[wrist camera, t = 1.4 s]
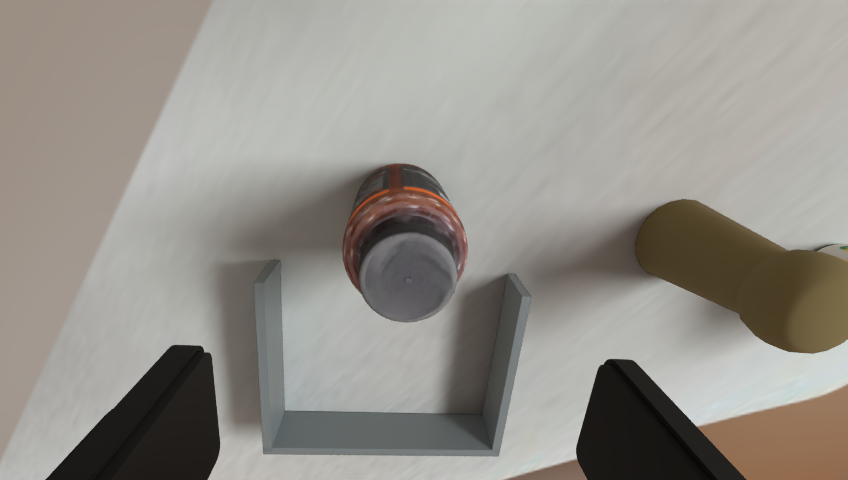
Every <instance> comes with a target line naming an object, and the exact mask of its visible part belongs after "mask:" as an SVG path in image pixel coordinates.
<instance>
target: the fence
mask: <svg viewBox="0 0 848 480" xmlns="http://www.w3.org/2000/svg"><path fill="white" fill-rule="evenodd" d="M254 300H255V318H256V335H257V353H258V371H259V388H260V406H261V423H262V441H263V454H296V455H401V456H499V453H500V448H501V443H502V438H503V433H504V428H505V424H506V419H507V414H508V409H509V404H510V399H511V394H512V389H513V385H514V380H515V375H516V370H517V365H518V360H519V355H520V350H521V346H522V341H523V336H524V331H525V326H526V321H527V316H528V311H529V306H530V302H531V295H530V294H529V293H528V291H527V290H526V288H525V287H524V285H523V284H522V283H521V281H520V280H519V278H518V277H517V275H516V274H507V279H506V285H505V291H504V296H503V302H502V307H501V313H500V319H499V324H498V330H497V335H496V341H495V347H494V352H493V358H492V363H491V369H490V375H489V380H488V386H487V391H486V397H485V403H484V408H483V414H482V415H463V414H413V413H363V412H313V411H285V404H284V373H283V341H282V309H281V277H280V261H276V260H271V261H270V262H269V263H268V265H267V266H266V267H265V269H264V270H263V271H262V272H261V274H260V275H259V276H258V278H257V279H256V280H255V281H254Z"/></svg>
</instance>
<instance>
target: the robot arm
mask: <svg viewBox="0 0 848 480" xmlns="http://www.w3.org/2000/svg"><path fill="white" fill-rule="evenodd" d="M219 451H220V437H219V427H218V416H217V406H216V396H215V386H214V375H213V365H212V357H211V354H210V353H204V349H203V347H201V346H191V345H173V346H171V347H170V348H169V349H168V350H167V351H166V352H165V353H164V354H163V355H162V356H161V357H160V359H159V360H158V361H157V362H156V363H155V364H154V365H153V366H152V367H151V368H150V369H149V371H148V372H147V373H146V374H145V375H144V376H143V377H142V378H141V379H140V380H139V381H138V383H137V384H136V385H135V386H134V387H133V388H132V389H131V390H130V391H129V392H128V393H127V394H126V396H125V397H124V398H123V399H122V400H121V401H120V402H119V403H118V404H117V405H116V406H115V408H114V409H112V410H111V411H110V412H108V413H107V414H106V415H105V416H104V417H103V418H102V419H101V420H100V421H99V423H98V424H97V425H96V426H95V427H94V428H93V429H92V430H91V431H90V432H89V433H88V434H87V435H86V437H85V438H84V439H83V440H82V441H81V442H80V443H79V444H78V445H77V446H76V447H75V448H74V450H73V451H72V452H71V453H70V454H69V455H68V456H67V457H66V458H65V459H64V460H63V461H62V462H61V464H60V465H59V466H58V467H57V468H56V469H55V470H54V471H53V472H52V473H51V474H50V475H49V477H48V478H47V479H46V480H207V479H208V477H209V475H210V473H211V471H212V469H213V467H214V465H215V463H216V461H217V458H218V455H219ZM576 454H577V459H578V462H579V464H580V466H581V468H582V470H583V472H584V474H585V476H586V478H587V480H746V479H745V478H744V477H743V476H742V475H741V474H740V472H739V471H738V470H737V469H736V468H735V467H734V466H733V465H732V464H731V463H730V462H729V461H728V460H727V459H726V458H725V457H724V455H723V454H722V453H721V452H720V451H719V450H718V449H717V448H716V447H715V446H714V445H713V444H712V443H711V442H710V441H709V440H708V438H707V437H705V435H704V434H703V433H702V432H701V431H700V430H699V429H698V428H697V427H696V426H695V425H694V424H693V423H692V422H691V420H690V419H689V418H688V417H687V416H686V415H685V414H684V413H683V412H682V411H681V410H680V409H679V408H678V407H677V406H676V405H675V404H674V402H673V401H672V400H671V399H670V398H669V397H668V396H667V395H666V394H665V393H664V392H663V391H662V390H661V389H660V388H659V387H658V386H657V384H656V383H655V382H654V381H653V380H652V379H651V378H650V377H649V376H648V375H647V374H646V373H645V372H644V371H643V370H642V369H641V368H640V366H639V365H638V364H637V363H636V362H634V361H633V360H624V359H609V360H607V361H606V362H605V363H604V365H601V366H600V367H599V368H598V371H597V375H596V378H595V382H594V385H593V389H592V393H591V396H590V400H589V403H588V407H587V411H586V414H585V418H584V421H583V425H582V429H581V432H580V436H579V439H578V443H577V447H576Z"/></svg>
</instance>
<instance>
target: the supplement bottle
mask: <svg viewBox="0 0 848 480" xmlns="http://www.w3.org/2000/svg"><path fill="white" fill-rule="evenodd" d="M467 254H468V245H467V238H466V234H465V230H464V228H463V225H462V223H461V221H460V219H459V217H458V215H457V213H456V211H455V210H454V208H453V206H452V204H451V203H450V201H449V199H448V197H447V196H446V194H445V192H444V191H443V189H442V187H441V186H440V184H439V183H438V181H437V180H436V179H435V178H434V177H433V176H432V175H431V174H429V173H428V172H426V171H425V170H423V169H421V168H419V167H417V166H414V165H410V164H393V165H388V166H385V167H382V168H380V169H379V170H377V171H375V172H374V173H373V174H371V175H370V176H369V177H368V178H367V179H366V181H365V182H364V183H363V185H362V186H361V188H360V190H359V192H358V194H357V197H356V200H355V203H354V206H353V210H352V212H351V216H350V218H349V221H348V224H347V228H346V231H345V234H344V239H343V262H344V266H345V269H346V272H347V275H348V277H349V278H350V280H351V282H352V283H353V285H354V286H355V288H356V289H357V290H358V291H359V292H360V293H361V294H362V296H363V298H364V299H365V301H366V302H367V304H368V305H369V306H370V307H371V308H372V309H373V310H374V311H375V312H376V313H378V314H379V315H381V316H383V317H385V318H387V319H390V320H393V321H398V322H416V321H420V320H423V319H427V318H429V317H431V316H433V315H435V314H436V313H438V312H439V311H440V310H442V309H443V308H444V307H445V306H446V304H447V303H448V302H449V300H450V299H451V297H452V295H453V294H454V292H455V287H456V284H457V282H458V281H459V279H460V278H461V275H462V273H463V271H464V267H465V265H466V261H467Z"/></svg>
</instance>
